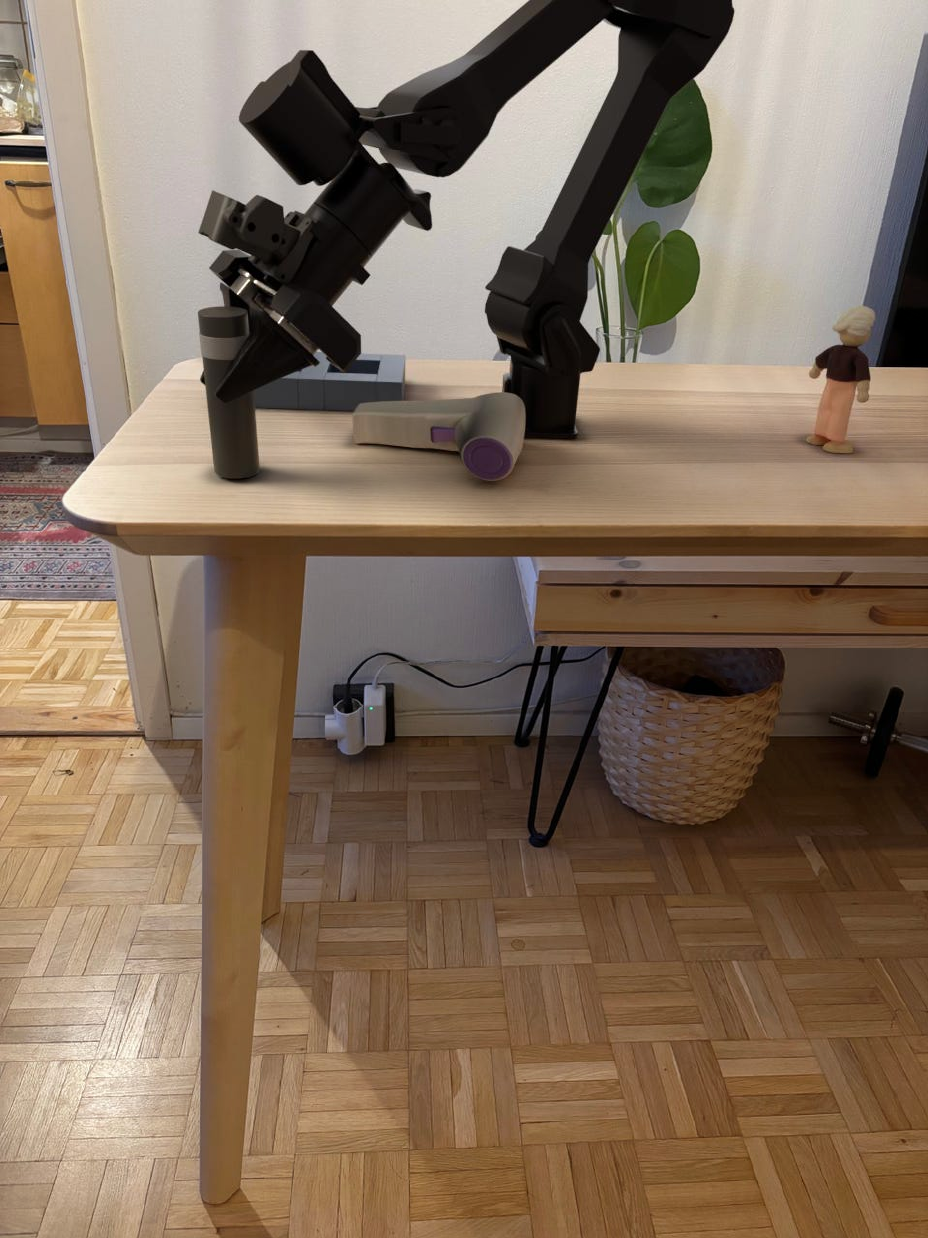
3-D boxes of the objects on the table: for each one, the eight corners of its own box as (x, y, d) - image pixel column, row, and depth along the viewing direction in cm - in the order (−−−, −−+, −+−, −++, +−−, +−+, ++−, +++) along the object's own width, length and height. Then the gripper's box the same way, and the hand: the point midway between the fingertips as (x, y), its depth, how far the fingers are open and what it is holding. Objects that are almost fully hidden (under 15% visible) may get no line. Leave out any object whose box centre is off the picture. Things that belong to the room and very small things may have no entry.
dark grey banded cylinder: (263, 462, 76) (252, 306, 70) (256, 479, 73) (243, 318, 67) (218, 461, 76) (203, 305, 70) (209, 478, 73) (191, 316, 67)
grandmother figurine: (872, 453, 85) (912, 313, 79) (845, 460, 84) (883, 316, 77) (807, 428, 91) (839, 295, 85) (780, 434, 89) (810, 298, 83)
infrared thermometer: (364, 437, 86) (525, 439, 84) (336, 487, 76) (519, 489, 74) (360, 389, 84) (526, 389, 82) (331, 433, 73) (520, 434, 72)
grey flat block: (405, 383, 99) (405, 354, 97) (401, 412, 90) (402, 382, 88) (240, 377, 98) (237, 348, 96) (220, 406, 89) (218, 375, 88)
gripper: (224, 137, 71) (98, 295, 72) (312, 160, 58) (155, 354, 58) (323, 242, 79) (208, 383, 80) (422, 284, 65) (282, 454, 66)
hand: (211, 391), depth 71 cm, fingers closed on dark grey banded cylinder, 3 cm apart
